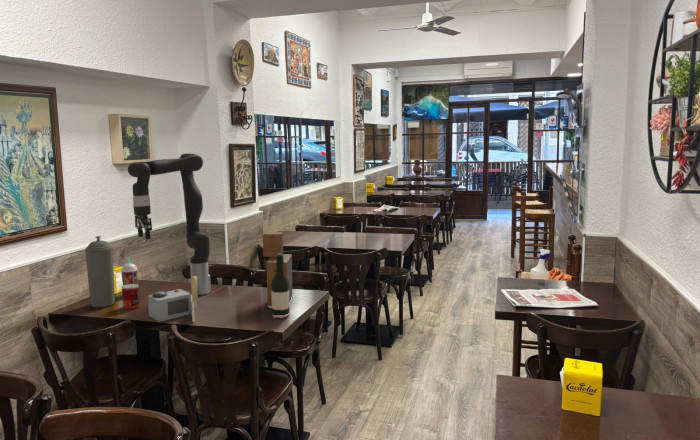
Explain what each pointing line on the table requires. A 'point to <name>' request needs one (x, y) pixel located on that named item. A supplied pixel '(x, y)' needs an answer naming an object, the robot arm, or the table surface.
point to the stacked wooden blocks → (271, 249)
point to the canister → (100, 273)
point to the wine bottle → (280, 289)
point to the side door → (194, 296)
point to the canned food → (131, 296)
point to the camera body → (169, 304)
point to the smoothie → (129, 273)
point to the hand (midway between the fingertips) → (144, 238)
